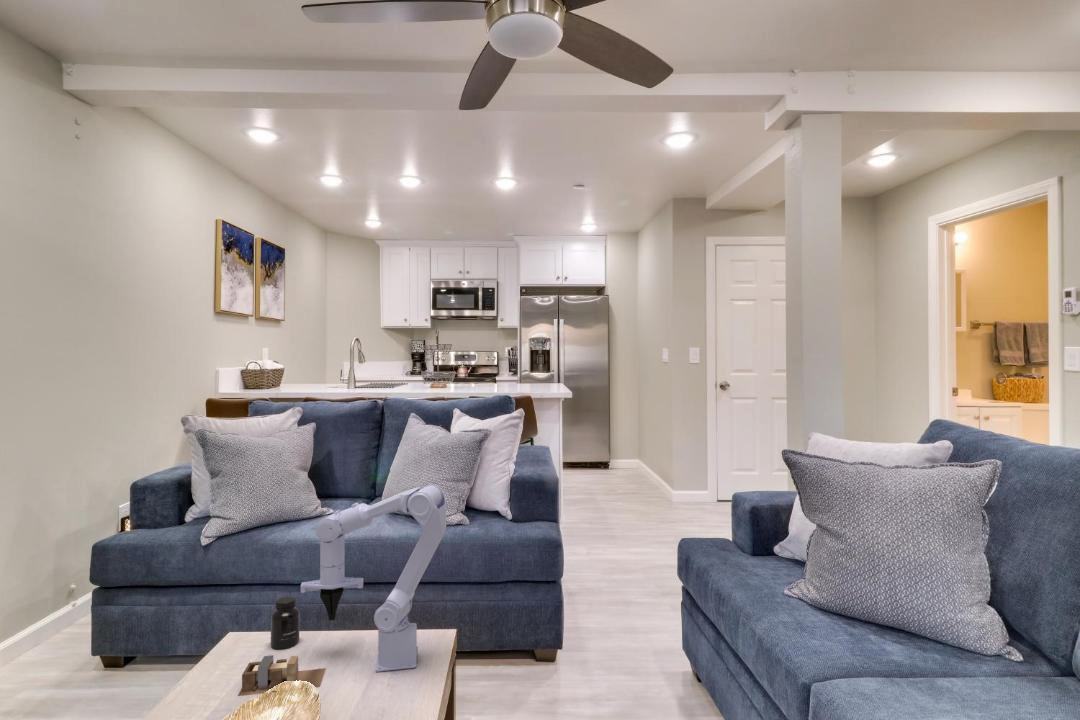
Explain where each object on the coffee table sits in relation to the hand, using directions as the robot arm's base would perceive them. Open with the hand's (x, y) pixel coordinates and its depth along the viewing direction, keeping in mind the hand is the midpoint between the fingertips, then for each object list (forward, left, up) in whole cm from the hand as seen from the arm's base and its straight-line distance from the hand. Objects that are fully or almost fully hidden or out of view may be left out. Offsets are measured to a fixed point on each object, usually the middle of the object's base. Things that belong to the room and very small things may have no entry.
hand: (332, 618), depth 140 cm
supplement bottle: (+13, -9, -10) cm, 19 cm away
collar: (+13, +10, -9) cm, 19 cm away
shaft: (+11, +10, -9) cm, 17 cm away
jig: (+9, +10, -10) cm, 17 cm away
